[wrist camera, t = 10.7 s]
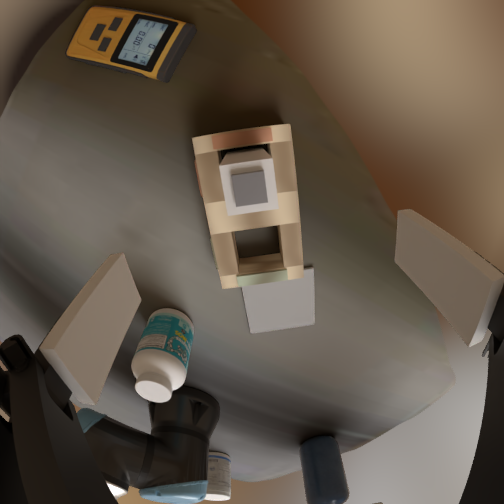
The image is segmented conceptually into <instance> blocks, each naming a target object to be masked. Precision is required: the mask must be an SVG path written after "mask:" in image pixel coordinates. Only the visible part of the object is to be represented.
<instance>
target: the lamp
mask: <svg viewBox="0 0 504 504" xmlns="http://www.w3.org/2000/svg"><path fill="white" fill-rule="evenodd" d="M300 460H301V466H302V473H303V480H304V487H305V494H306V501H307V504H343V503H344V502H346V501H347V499H348V497H349V489H348V484H347V480H346V475H345V471H344V467H343V462H342V458H341V454H340V450H339V446H338V443H337V441H336V440H335V438H333V437H331V436H317V437H313V438H310V439H308V440H306V441H305V442H304V443H303V444H302V445H301V447H300ZM374 504H383V503H381V502H380V503H374Z"/></svg>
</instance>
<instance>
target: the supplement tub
mask: <svg viewBox="0 0 504 504" xmlns="http://www.w3.org/2000/svg"><path fill="white" fill-rule="evenodd" d="M230 495H231V466H230V457H229V456H228V455H226V454H223V453H219V452H209V460H208V484H207V491H206V497H205V498H204V499H206V500H214V501H221V500H228V499H230Z"/></svg>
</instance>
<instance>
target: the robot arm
mask: <svg viewBox="0 0 504 504" xmlns="http://www.w3.org/2000/svg"><path fill="white" fill-rule="evenodd" d="M395 263H396V264H397V265H398V266H399V267H400V268H401V269H402V270H403V271H404V272H405V273H406V274H407V275H408V276H409V277H410V279H411V280H412V281H413V282H414V283H415V284H416V285H417V286H418V287H419V288H420V290H421V291H422V292H423V293H424V294H425V295H426V296H427V297H428V299H429V300H430V301H431V302H432V303H433V304H434V305H435V307H436V308H437V309H438V310H439V311H440V312H441V314H442V315H443V316H444V317H445V318H446V320H447V321H448V322H449V323H450V325H451V326H452V327H453V328H454V329H455V331H456V332H457V333H458V334H459V336H460V337H461V338H462V340H463V341H464V342H465V343H466V345H467V346H468V347H471V346H473V345H475V344H477V343H478V342H481V341H482V340H483V337H484V335H485V333H486V330H487V328H488V329H489V330H490V331H491V332H492V334H491V336H490V339H489V341H488V343H487V345H486V347H485V349H484V351H483V354H482V357H484V356H485V354H486V352H487V351H488V350H489V355H488V358H489V363H488V379H487V390H486V399H485V406H484V413H483V419H482V425H481V430H480V435H479V440H478V444H477V449H476V452H475V457H474V460H473V464H472V467H471V470H470V474H469V477H468V480H467V483H466V486H465V489H464V492H463V494H462V497H461V500H460V502H459V504H504V273H502V272H501V271H500V270H499V269H497V268H496V267H495V266H494V265H492V264H490V262H488V261H487V260H484V258H483V257H482V256H481V255H479V254H478V253H477V252H475V251H473V250H471V249H470V248H469V247H467V246H466V245H464V244H463V243H462V242H460V241H459V240H457V239H456V238H454V237H453V236H452V235H450V234H448V233H447V232H446V231H444V230H443V229H441V228H440V227H438V226H437V225H435V224H434V223H432V222H430V221H429V220H427V219H426V218H424V217H423V216H421V215H419V214H418V213H416V212H414V211H413V210H411V209H407V210H399V211H398V220H397V238H396V251H395ZM140 302H141V298H140V295H139V293H138V290H137V288H136V285H135V282H134V280H133V277H132V275H131V272H130V269H129V266H128V264H127V261H126V258H125V255H124V252H122V253H117V254H112V255H110V256H109V257H108V258H107V259H106V260H105V262H104V263H103V264H102V265H101V266H100V267H99V269H98V270H97V271H96V272H95V273H94V275H93V276H92V277H91V278H90V280H89V281H88V282H87V283H86V284H85V286H84V287H83V288H82V290H81V291H80V292H79V293H78V295H77V296H76V297H75V298H74V300H73V301H72V302H71V304H70V305H69V306H68V308H67V309H66V310H65V312H64V313H63V314H62V315H61V316H60V317H59V319H58V320H57V321H56V323H55V324H54V326H53V327H52V328H51V330H50V331H49V332H50V333H48V334H47V336H46V337H45V338H44V340H43V341H42V343H41V344H40V346H39V347H38V349H37V350H36V352H35V353H34V354H33V352H32V351H31V349H30V348H29V346H28V345H27V343H26V342H25V340H24V338H23V337H22V336H21V335H19V334H18V335H13V336H11V337H9V338H8V339H6V340H5V341H4V342H3V343H2V344H1V345H0V360H1V361H2V363H3V364H4V365H5V366H6V368H7V369H8V371H4V370H3V369H2V368H1V366H0V408H1V409H2V410H3V411H4V412H5V413H6V414H7V415H8V416H9V417H10V419H9V422H7V421H6V420H5V419H4V418H3V417H2V416H1V415H0V504H118V502H117V498H119V497H121V496H123V495H125V494H127V493H128V488H129V486H132V487H135V488H138V489H140V490H139V493H140V496H141V497H142V498H144V499H148V500H151V501H156V502H163V503H174V504H191V503H197V502H200V501H202V500H203V499H204V498H205V497H206V491H207V484H208V460H209V441H210V437H211V435H212V433H213V431H214V429H215V427H216V425H217V422H218V420H219V416H220V407H219V404H218V403H217V401H216V400H215V399H214V398H213V397H211V396H210V395H208V394H206V393H204V392H202V391H199V390H197V389H193V388H189V387H184V386H181V387H179V388H178V389H176V390H173V391H172V396H171V398H170V400H168V401H166V402H161V403H159V402H152V401H149V404H148V407H149V414H150V421H151V427H152V429H151V434H147V433H145V432H142V431H140V430H137V429H135V428H132V427H130V426H127V425H125V424H123V423H121V422H118V421H116V420H114V419H112V418H110V417H108V416H107V415H105V414H101V413H98V412H96V411H94V410H92V409H89V408H82V409H80V410H79V411H78V412H77V413H76V411H75V407H74V405H73V404H72V402H71V401H70V400H69V398H70V396H71V394H72V393H73V395H74V396H75V397H76V398H77V399H78V401H79V402H80V403H84V404H91V405H96V404H97V402H98V399H99V396H100V394H101V391H102V389H103V386H104V384H105V381H106V379H107V376H108V374H109V371H110V369H111V367H112V364H113V362H114V359H115V357H116V355H117V352H118V350H119V348H120V346H121V343H122V341H123V339H124V337H125V334H126V332H127V330H128V328H129V326H130V324H131V321H132V319H133V317H134V315H135V313H136V311H137V309H138V307H139V305H140Z"/></svg>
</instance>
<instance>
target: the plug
mask: <svg viewBox="0 0 504 504" xmlns="http://www.w3.org/2000/svg"><path fill="white" fill-rule="evenodd" d="M219 169H220V175H221V180H222V186H223V192H224V197H225V203H226V209H227V214H228V216H232V215H239V214H246V213H252V212H259V211H267V210H274V209H279V206H278V197H277V189H276V181H275V172H274V164H273V158H272V157H271V156H270V155H269V154H268V153H267V152H266V151H265V150H264V149H263V148H262V147H258V148H251V149H244V150H237V151H230V152H227V153H226V155H225V157H224V158H223V160H222V162H221V163H220V165H219Z"/></svg>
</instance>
